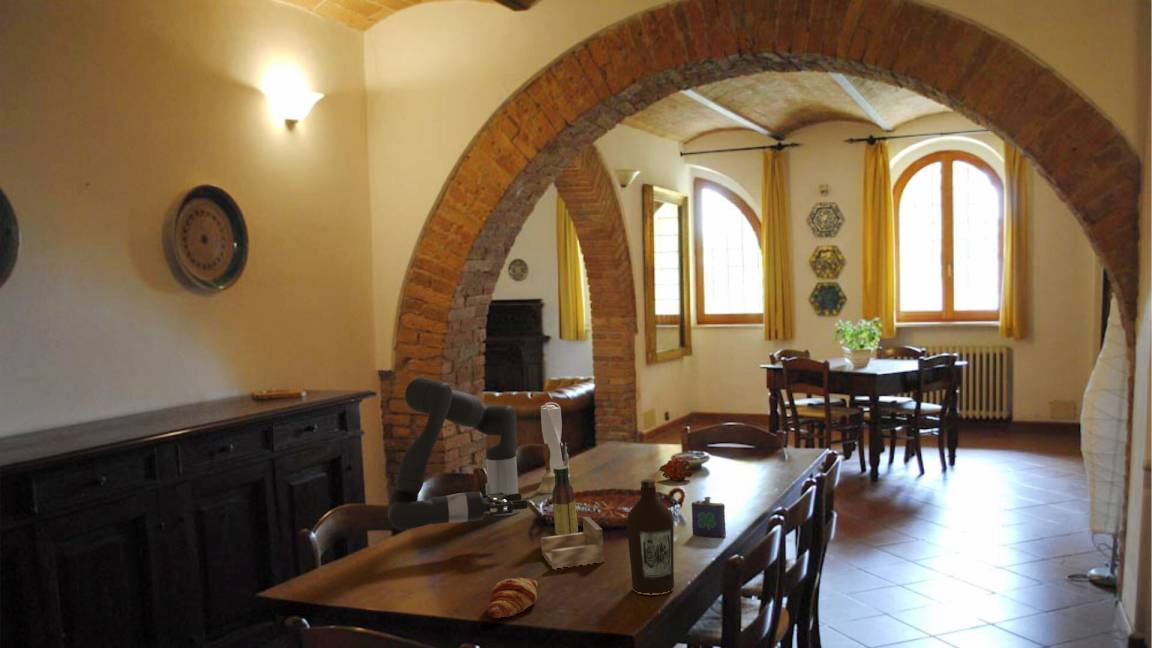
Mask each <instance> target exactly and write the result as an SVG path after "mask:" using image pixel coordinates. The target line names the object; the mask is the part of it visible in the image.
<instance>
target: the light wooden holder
mask: <svg viewBox="0 0 1152 648" xmlns="http://www.w3.org/2000/svg"><path fill="white" fill-rule="evenodd" d="M582 524H583V525H582V526H583V527H582V528H583V529H582V530H583V531H582V532H581V531H580V532H578V533H573V534H565V535H557V536H556V535H552V536H543V537H541V538H540V541H541V544H540V545H541V555H542V557H543V556H544V557H543V558H544V559H545V560H546V562H547V561H548V562H547V564H548V565H549V566H550V565H551V566H552V567H551V566H550V567H551V568H552V570H553V569H554V570H558V569H557V568H561V569H564V568H563V567H568V568H573V566H576V567H580V566H579V565H583V566H588V565H587V564H590V565H594V564H593V563H597V564H603V563H602V562H604V563H605V558H604V554H605V553H604V537H603V536H604V535H603V528H601V527H600V525H599V524H597V523H596V522H595V521H594V520H593V519H592V518H591V517H589V516H583V517H582Z"/></svg>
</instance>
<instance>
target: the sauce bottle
mask: <svg viewBox="0 0 1152 648" xmlns="http://www.w3.org/2000/svg"><path fill="white" fill-rule="evenodd" d="M568 471H569V472H570V469H569V470H568V467H567V466H565V465H563V466H557V467H555V468H554V474H555V486H554V489H553V493H552V509H553V518H554V520H553V521H554V530H555V534H556V535H555V536H557V535H565V534H573V533H579V532H578V531H579V527H578V518H577V517H578V514H577V507H576V499H575V491H574V488H573V486H572V485H571V483H570V478H568Z"/></svg>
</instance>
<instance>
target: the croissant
mask: <svg viewBox="0 0 1152 648" xmlns="http://www.w3.org/2000/svg"><path fill="white" fill-rule="evenodd" d="M537 599H538V582H537V580H535V579H534V580H533V579H532V578H528V577H527V578H526V577H525V578H523V577H520V576H519V577H517V576H516V577H513V578H506V579H504V580H501V581H499V582H497V583H496V584H495V585H494V587H493V588H492V590H491V593H490V601H489V606H488V608H487V612H488V614H489V616H490V617H491V618H493V619H496V618H498V619H502V618H501V617H506V616H510V615H513V614H515V613H517V612H520V611H521V610H522V611H523V610H525V609H526V608H528V607H529V606H531V605H532V604H533V605H535V604H536V602H537V601H538V600H537ZM533 605H532V606H533ZM532 606H531V607H532ZM528 609H529V608H528Z"/></svg>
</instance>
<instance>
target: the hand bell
mask: <svg viewBox="0 0 1152 648" xmlns="http://www.w3.org/2000/svg"><path fill="white" fill-rule="evenodd" d="M542 448H543V449H542V458H543V461H544V465H545V466H544V468H545V469H544V470H546V473H543V474H542V475H541V483H540V485H539V487H538V488H537V489H536V492H537V493H538V494H549V495H550V494H553V489H554V486H555V474H553V473H551V470H550V456H551V454H550V448H549V446H548V444H547V443H546V444H545V443H543V447H542Z"/></svg>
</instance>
